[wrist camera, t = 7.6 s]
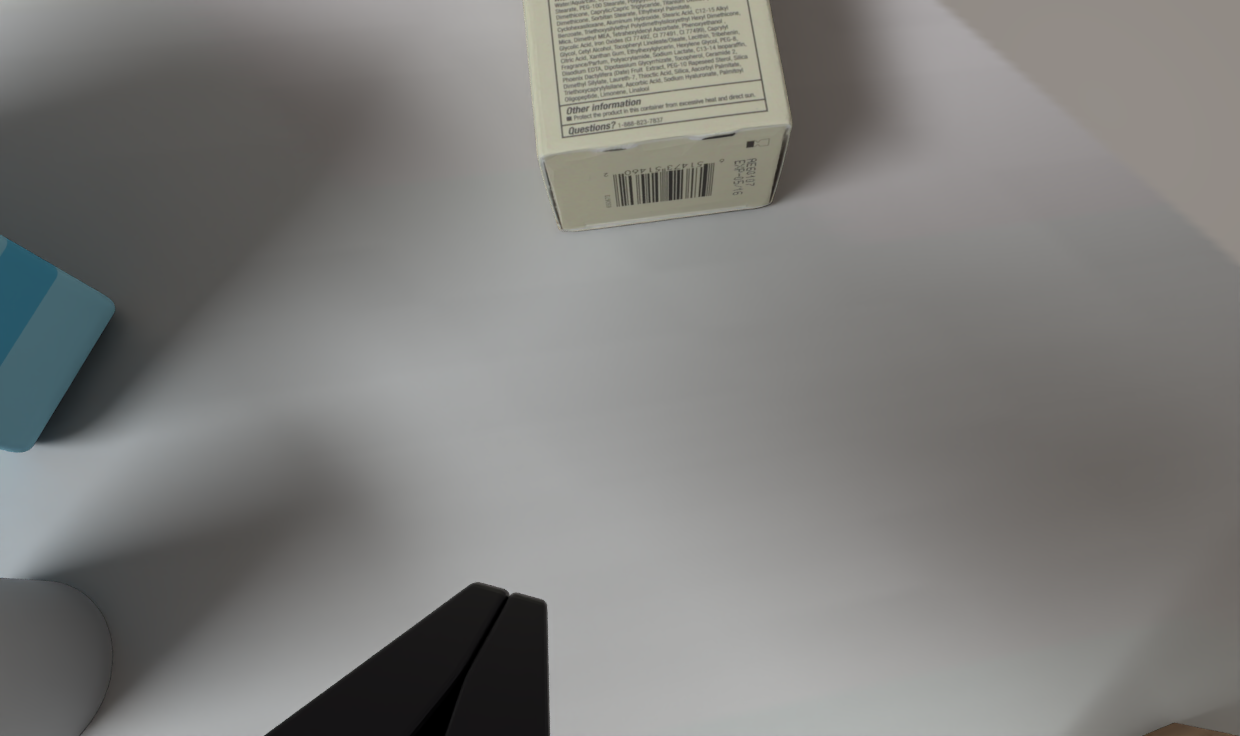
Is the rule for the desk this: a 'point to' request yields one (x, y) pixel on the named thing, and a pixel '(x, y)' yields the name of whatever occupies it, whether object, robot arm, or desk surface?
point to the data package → (41, 340)
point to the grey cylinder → (50, 658)
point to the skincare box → (655, 108)
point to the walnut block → (1185, 731)
